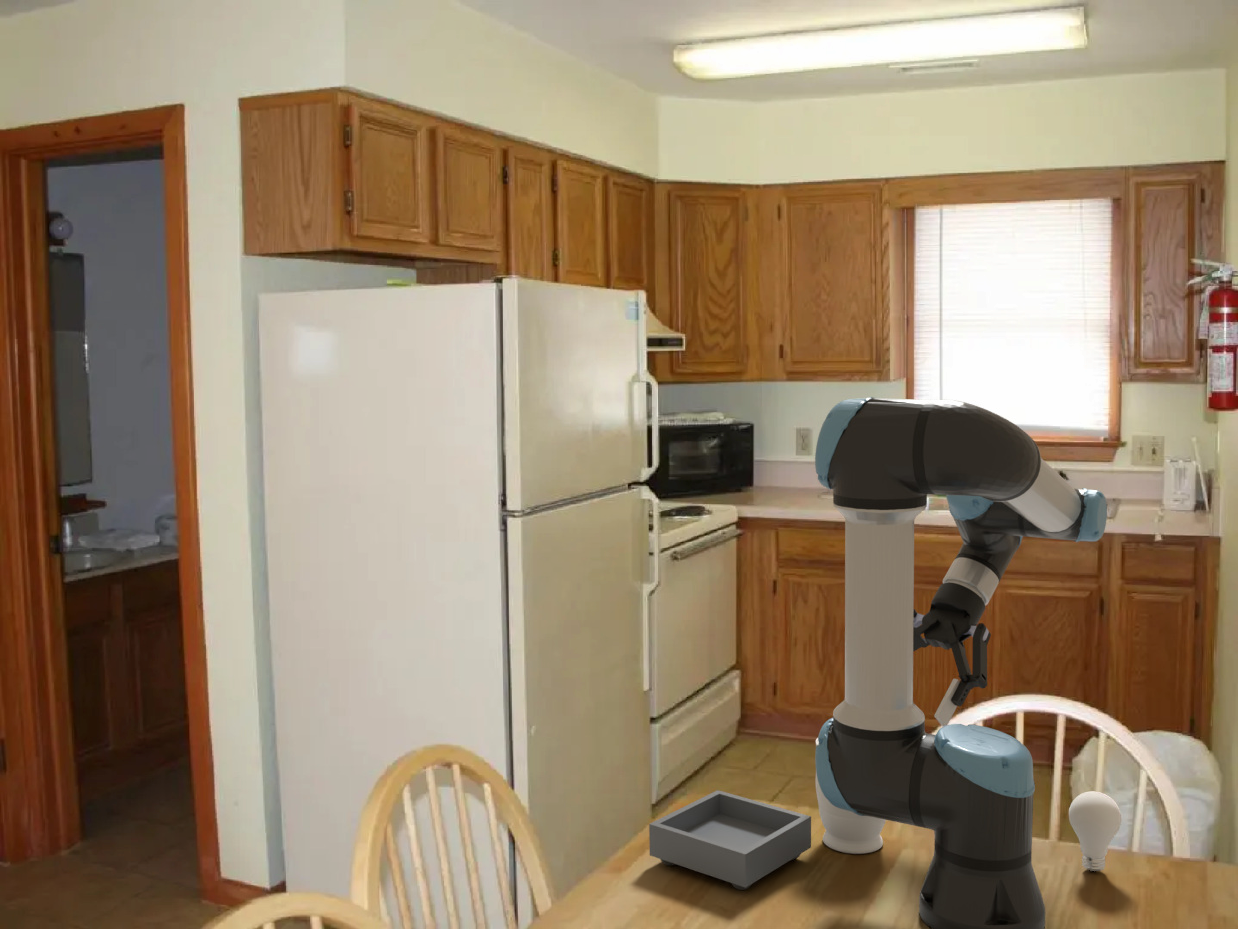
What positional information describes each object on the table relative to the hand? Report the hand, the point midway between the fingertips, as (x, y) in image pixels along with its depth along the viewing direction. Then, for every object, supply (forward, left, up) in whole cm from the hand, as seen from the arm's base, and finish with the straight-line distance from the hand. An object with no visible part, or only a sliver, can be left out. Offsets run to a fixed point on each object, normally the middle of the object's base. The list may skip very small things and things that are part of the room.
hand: (901, 711), depth 185 cm
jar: (+2, +11, -17) cm, 20 cm away
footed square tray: (+12, +27, -17) cm, 34 cm away
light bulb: (-28, -1, -17) cm, 33 cm away
